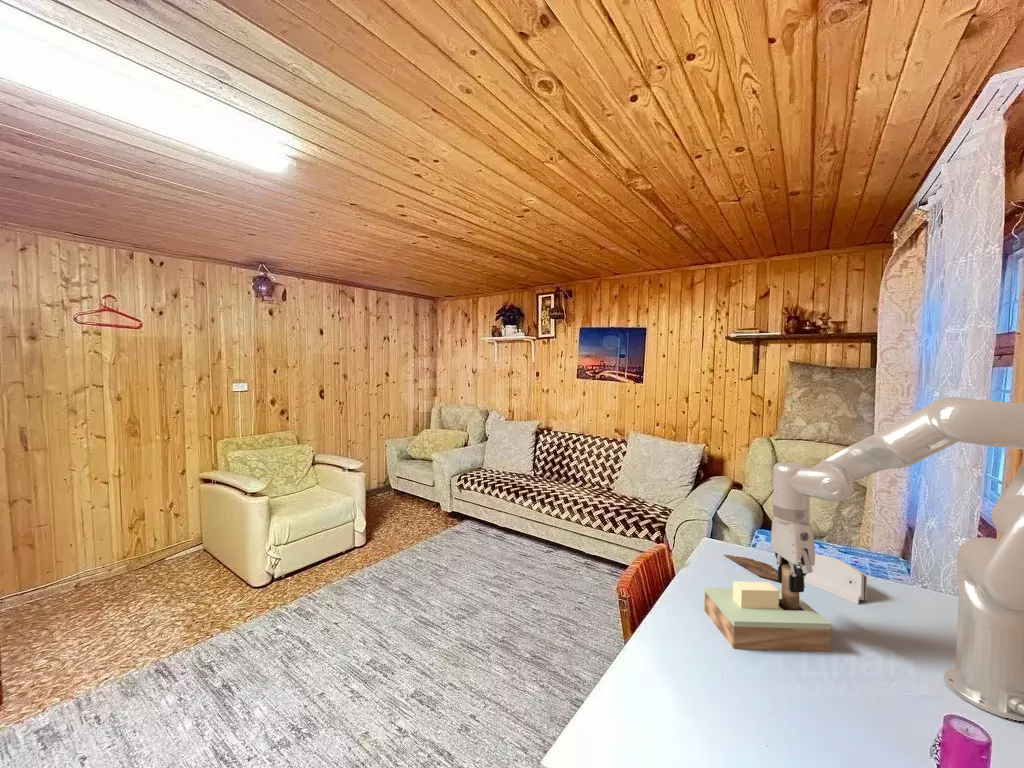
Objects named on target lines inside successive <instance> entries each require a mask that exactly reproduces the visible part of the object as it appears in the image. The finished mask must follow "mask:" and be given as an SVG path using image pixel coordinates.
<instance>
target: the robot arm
mask: <svg viewBox="0 0 1024 768" xmlns="http://www.w3.org/2000/svg"><path fill="white" fill-rule="evenodd" d="M959 442H960V443H967V444H974V445H980V446H985V447H986V446H988V447H997V448H1005V449H1015V450H1018V449H1019V450H1021V451H1022V452H1021V453H1022V458H1021V463H1020V466H1019V467H1018V470H1016V471H1017V472H1016V473H1015V475H1014V477H1012V479H1011V481H1010V483H1009V484H1008V485H1007V487H1006V489H1005V490H1004V492H1003V493H1002V495H1001V496H1000V498H998V501H997V502H996V503H995V505H994V506H993V508H992V510H991V514H990V515H991V520H992V523H993V525H994V526H995V527H996V528H997V529H998V531H1000V532H1001V533H1002V534H1003V535H1002V536H1001V538H1000V539H997V538H994V537H984V536H983V537H981V536H980V537H975V538H971V539H968V540H966V541H965V542H964V543H963V544H961V546H960V547H959V549H958V551H957V554H956V569H957V571H956V572H957V581H958V608H957V625H956V626H957V628H956V631H957V632H956V633H957V634H956V651H955V654H956V655H955V668H951V669H947V670H946V671H945V672H944V675H943V677H944V683H945V684H946V685H947V686H948V688H949V689H950V690H951V691H953V693H955V695H957V696H959V697H960V698H961V699H962V700H965V701H966V702H968V703H969V704H971V705H973V706H975V707H977V708H978V709H981V710H983V711H986V712H987V713H989V714H993V715H995V716H997V717H1000V718H1004V719H1006V718H1009V719H1008V720H1010V719H1014V720H1019V721H1024V402H1015V401H1014V402H1013V401H1012V402H1011V401H999V400H986V399H976V398H969V397H962V396H948V397H947V396H946V397H943V398H939V399H937V400H935V401H933V402H932V403H930V404H928V405H926V406H924V407H921V408H919V410H917V411H915V412H913V413H910V414H909V415H907V416H906V417H904V418H902V419H900V420H899V421H897V422H895V423H893V424H891V425H889V426H887V427H885V428H884V429H882V430H880V431H878V432H876V433H874V434H871V435H870V436H868V437H867V436H866V438H864V439H862V440H860V441H857V442H856V443H854V444H853V443H852V445H850V446H847V447H845V448H843V449H842V450H840V451H838V452H836V453H834V454H832V455H831V456H829V457H826V458H825V459H823V460H822V461H820V462H818V463H817V464H815V465H814V466H813V467H812V468H809V467H808V466H807V465H806V464H803V463H799V462H789V461H781V462H780V461H779V462H777V463H775V464H774V466H773V467H772V471H773V472H772V476H773V477H772V485H773V486H772V522H771V533H770V545H771V549H772V552H773V554H774V556H775V558H776V565H777V570H778V581H777V582H778V583H780V584H782V565H785V564H787V565H790V566H791V575H789V590H790V591H791V592H799V593H804V591H805V586H804V585H805V582H804V577H806V574H808V573H812V572H813V570H812V567H811V565H814V564H815V554H816V549H815V538H814V537H815V536H814V531H813V528H812V524H811V523H810V522H811V518H810V517H811V498H814V499H818V500H823V501H827V502H835V503H836V502H837V503H838V502H843V501H845V500H847V499H848V498H850V496H851V495H852V492H853V483H855V482H857V481H860V480H862V479H863V478H865V477H867V476H870V475H873V474H874V473H877V472H881V471H885V470H890V469H903V468H906V467H910V466H913V465H915V464H917V463H919V462H922V461H923V460H925V459H927V458H929V457H931V456H933V455H935V454H937V453H939V452H940V451H943V450H945V449H947V448H949V447H952V446H953V445H955V444H958V443H959ZM796 567H797V568H798V569H797V570H796ZM1014 720H1013V721H1014Z"/></svg>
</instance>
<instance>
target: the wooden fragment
mask: <svg viewBox="0 0 1024 768" xmlns="http://www.w3.org/2000/svg"><path fill="white" fill-rule="evenodd" d="M723 556H724V557H726V558H728V559H729V560H730V561H733V562H735V563H736V564H738V565H740V566H742V567H744V568H745V569H747V570H748V571H750V572H752V573H754V575H757V576H759V577H760V578H766V579H769V580H772V581H775V582H776V581H777V582H778V569H776V568H774V567H773V566H772V565H770V564H768V563H767V562H761V561H759V560H755V559H754V558H750V557H749V558H748V557H745V556H742V557H741V556H734V555H731V554H723ZM759 577H758V578H759ZM804 587H805V584H804Z"/></svg>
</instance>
